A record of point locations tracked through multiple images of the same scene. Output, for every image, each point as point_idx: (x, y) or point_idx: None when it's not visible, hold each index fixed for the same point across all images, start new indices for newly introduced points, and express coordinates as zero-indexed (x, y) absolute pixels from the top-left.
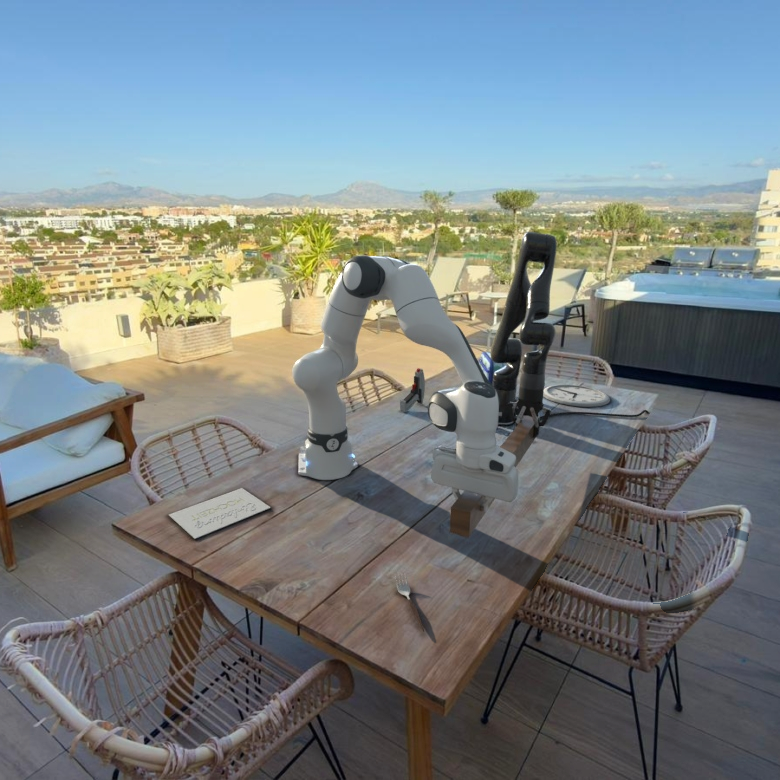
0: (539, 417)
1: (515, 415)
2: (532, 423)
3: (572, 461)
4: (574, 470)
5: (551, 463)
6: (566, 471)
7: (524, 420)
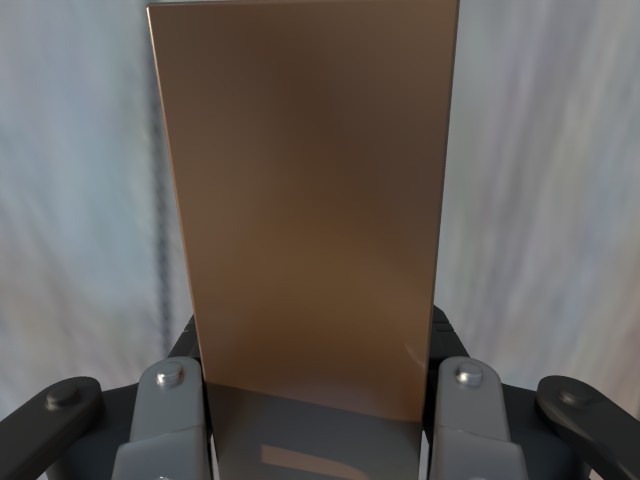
0: (451, 77)
1: (69, 446)
2: (392, 451)
3: (610, 87)
4: (611, 218)
5: (478, 191)
6: (564, 253)
7: (253, 396)
